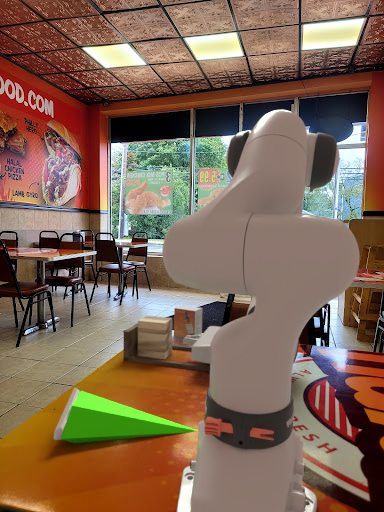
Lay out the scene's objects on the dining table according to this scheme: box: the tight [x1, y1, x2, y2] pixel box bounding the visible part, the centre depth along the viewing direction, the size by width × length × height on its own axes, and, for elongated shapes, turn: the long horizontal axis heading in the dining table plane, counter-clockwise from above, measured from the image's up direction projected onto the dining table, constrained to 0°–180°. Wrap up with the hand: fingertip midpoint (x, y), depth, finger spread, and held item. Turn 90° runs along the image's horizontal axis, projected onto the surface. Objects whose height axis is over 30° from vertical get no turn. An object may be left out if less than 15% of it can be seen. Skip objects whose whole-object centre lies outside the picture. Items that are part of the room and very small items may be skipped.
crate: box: [137, 315, 174, 360], centre depth 101 cm, size 6×8×10 cm
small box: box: [173, 305, 203, 339], centre depth 119 cm, size 8×6×10 cm
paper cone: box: [53, 387, 198, 444], centre depth 65 cm, size 11×5×25 cm
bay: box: [123, 322, 210, 372], centre depth 100 cm, size 14×24×9 cm, turn 74°
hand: (184, 339), depth 98 cm, fingers closed
